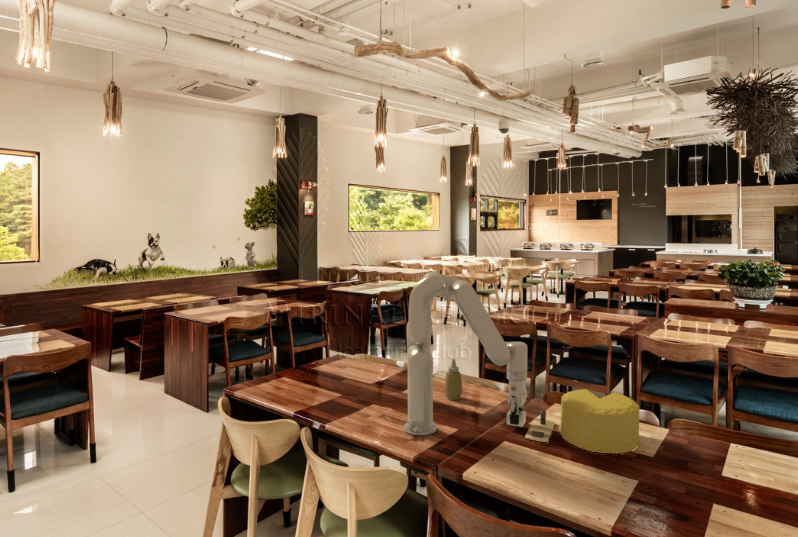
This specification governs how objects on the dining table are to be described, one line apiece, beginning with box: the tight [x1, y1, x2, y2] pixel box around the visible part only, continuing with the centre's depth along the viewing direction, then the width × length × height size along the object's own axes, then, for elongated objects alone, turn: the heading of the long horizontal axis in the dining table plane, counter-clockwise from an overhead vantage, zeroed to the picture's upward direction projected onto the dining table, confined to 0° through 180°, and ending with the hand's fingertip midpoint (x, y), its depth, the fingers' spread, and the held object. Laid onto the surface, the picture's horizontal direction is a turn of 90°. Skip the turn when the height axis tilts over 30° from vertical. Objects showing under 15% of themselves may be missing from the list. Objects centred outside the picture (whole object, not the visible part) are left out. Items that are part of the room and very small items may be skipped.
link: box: [506, 409, 527, 428], centre depth 186 cm, size 6×6×4 cm
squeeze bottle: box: [444, 358, 463, 401], centre depth 220 cm, size 8×8×18 cm
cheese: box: [560, 388, 640, 454], centre depth 176 cm, size 26×26×15 cm
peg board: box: [524, 409, 556, 444], centre depth 183 cm, size 20×8×6 cm, turn 155°
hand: (516, 420), depth 186 cm, fingers closed on link, 6 cm apart
